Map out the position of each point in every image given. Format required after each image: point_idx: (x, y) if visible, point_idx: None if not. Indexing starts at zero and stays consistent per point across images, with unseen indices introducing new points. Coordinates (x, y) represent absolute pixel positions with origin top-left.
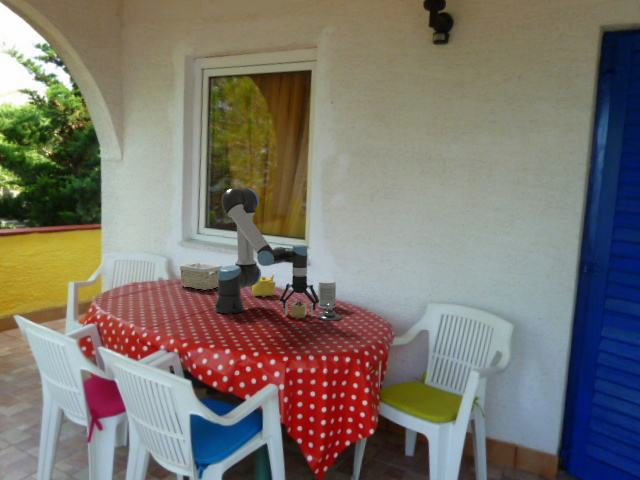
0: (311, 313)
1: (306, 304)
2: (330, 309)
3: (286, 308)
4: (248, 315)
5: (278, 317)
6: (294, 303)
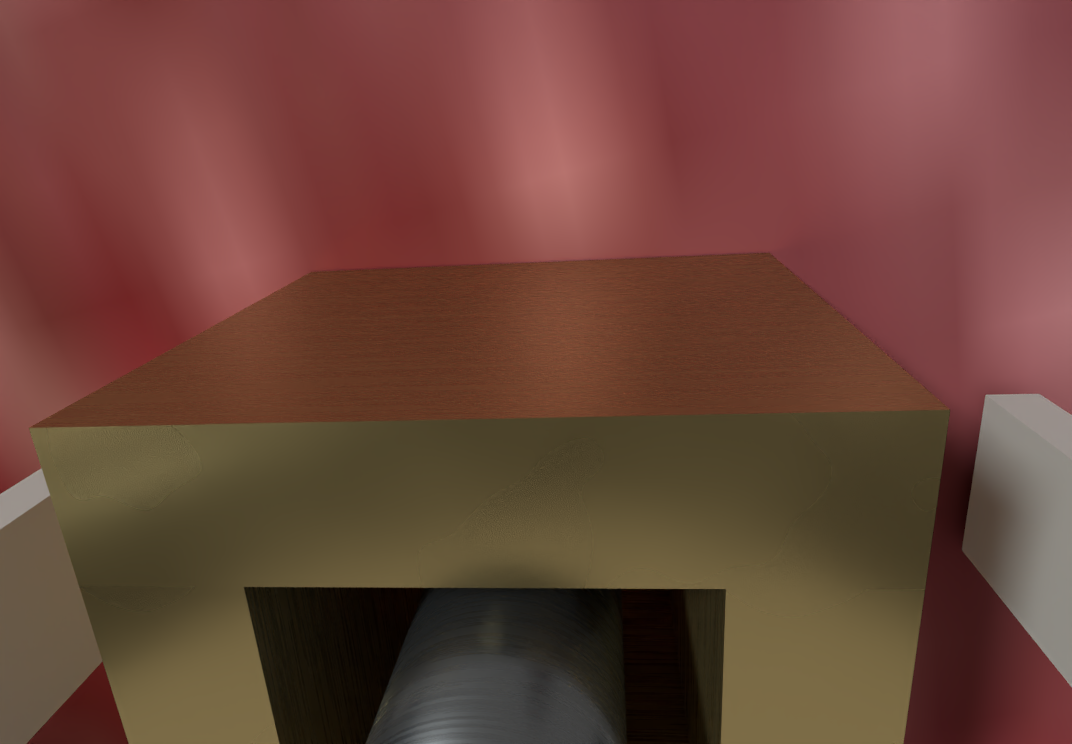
0: (1025, 618)
1: (906, 510)
2: None
3: (62, 696)
4: None
5: (100, 713)
6: (191, 660)
